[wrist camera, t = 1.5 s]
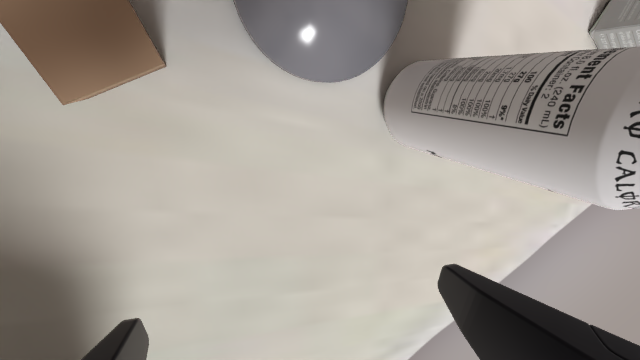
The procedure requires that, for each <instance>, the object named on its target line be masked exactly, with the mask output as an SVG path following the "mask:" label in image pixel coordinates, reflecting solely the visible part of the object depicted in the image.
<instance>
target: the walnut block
mask: <svg viewBox="0 0 640 360" xmlns="http://www.w3.org/2000/svg"><path fill="white" fill-rule="evenodd" d="M0 23H1V24H2V26H3V27H4V28H5V29H6V31H7V32H8V33H9V35H10V36H11V37H12V39H13V40H14V41H15V43H16V44H17V45H18V47H19V48H20V49H21V51H22V52H23V53H24V54H25V56H26V57H27V58H28V60H29V61H30V62H31V64H32V65H33V66H34V68H35V69H36V70H37V72H38V73H39V74H40V76H41V77H42V78H43V80H44V81H45V82H46V83H47V85H48V86H49V87H50V89H51V90H52V91H53V93H54V94H55V95H56V97H57V98H58V99H59V101H60V102H61V103H62V105H65V104H69V103H73V102H77V101H81V100H85V99H89V98H91V97H93V96H96V95H98V94H101V93H103V92H106V91H108V90H110V89H113V88H115V87H118V86H120V85H123V84H125V83H127V82H130V81H132V80H135V79H137V78H140V77H142V76H144V75H147V74H149V73H152V72H154V71H157V70H159V69H161V68H164V67H166V65H165V63H164V61H163V60H162V58H161V56H160V54H159V53H158V51H157V49H156V47H155V46H154V44H153V42H152V40H151V39H150V37H149V35H148V33H147V32H146V30H145V28H144V26H143V25H142V23H141V21H140V19H139V18H138V16H137V14H136V12H135V11H134V9H133V7H132V5H131V4H130V2H129V0H0Z"/></svg>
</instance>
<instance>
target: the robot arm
mask: <svg viewBox="0 0 640 360" xmlns="http://www.w3.org/2000/svg"><path fill="white" fill-rule="evenodd" d="M438 289H439V292H440V294H441V296H442V297H443V299H444V301H445V303H446V305H447V307H448V309H449V310H450V312H451V314H452V316H453V318H454V320H455V322H456V323H457V325H458V327H459V329H460V330H461V332H462V333H463V335H464V337H465V338H466V340H467V341H468V343H469V344H470V346H471V347H472V348H473V350H474V351H475V353H476V354H477V356H478V357H479V359H480V360H640V346H639V345H637V344H634V343H632V342H630V341H627V340H625V339H623V338H620V337H618V336H616V335H613V334H611V333H609V332H607V331H605V330H602V329H600V328H598V327H596V326H593V325H588V324H587V323H586V322H584V321H581V320H579V319H577V318H575V317H572V316H570V315H568V314H566V313H564V312H561V311H559V310H557V309H555V308H552V307H550V306H548V305H546V304H544V303H541V302H539V301H537V300H535V299H532V298H530V297H528V296H526V295H523V294H521V293H519V292H517V291H514V290H512V289H510V288H508V287H506V286H503V285H501V284H499V283H497V282H495V281H492V280H490V279H488V278H486V277H483V276H481V275H479V274H477V273H475V272H472V271H470V270H468V269H466V268H463V267H461V266H459V265H457V264H450V265H445V266H443V267H442V270H441V273H440V277H439V280H438ZM148 346H149V338H148V334H147V332H146V330H145V328H144V325H143V323H142V321H141V319H139V318H134V319H128V320H124V321H122V322H121V323H120V324H118V325H117V326H116V327H115V328H114V329H113V330H112V331H111V332H110V333H109V334H108V335H107V336H106V337H105V338H104V339H103V340H101V341H100V342H99V343H98V344H97V345H96V346H95V347H94V348H93V349H92V350H91V351H90V352H89V353H88V354H87V355H86V356H84V357H83V358H82V359H81V360H146V357H147V352H148Z"/></svg>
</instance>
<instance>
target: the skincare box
mask: <svg viewBox="0 0 640 360" xmlns="http://www.w3.org/2000/svg"><path fill="white" fill-rule="evenodd" d="M589 33H590V36H591V37H592V38H593V40H594V42H595V44H596V46H597V48H598V49H609V48H624V47H640V0H610V2H609V3H608V5H607V6H606V8H605V9H604V11H603V12H602V14H601V15H600V17H599V18H598V20H597V21H596V23H595V24H594V26H593V27H592V28H591V30H590V32H589Z"/></svg>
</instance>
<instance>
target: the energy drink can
mask: <svg viewBox="0 0 640 360" xmlns="http://www.w3.org/2000/svg"><path fill="white" fill-rule="evenodd" d="M383 112H384V118H385V122H386V125H387V128H388V130H389V132H390V134H391V135H392V137H393V138H394V139H395V140H396V141H397V142H398V143H399V144H401V145H403V146H405V147H409V148H412V149H415V150H419V151H422V152H425V153H428V154H432V155H435V156H438V157H441V158H445V159H448V160H451V161H454V162H458V163H461V164H464V165H468V166H471V167H474V168H477V169H481V170H484V171H487V172H490V173H494V174H497V175H500V176H503V177H507V178H510V179H513V180H517V181H520V182H523V183H526V184H530V185H533V186H536V187H539V188H543V189H546V190H549V191H552V192H556V193H559V194H562V195H565V196H569V197H572V198H575V199H579V200H582V201H585V202H588V203H592V204H595V205H599V206H602V207H605V208H608V209H614V210H623V209H634V208H640V47H624V48H609V49H594V50H578V51H563V52H548V53H532V54H517V55H502V56H487V57H471V58H456V59H441V60H425V61H418V62H415V63H412V64H410V65H408V66H407V67H405V68H404V69H403V70H402V71H401V72H400V73H399V74H398V75H397V76H396V77H395V79H394V80H393V82H392V83H391V85H390V86H389V88H388V90H387V92H386V95H385V99H384V105H383Z"/></svg>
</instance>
